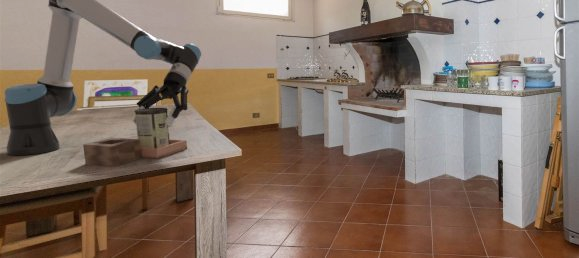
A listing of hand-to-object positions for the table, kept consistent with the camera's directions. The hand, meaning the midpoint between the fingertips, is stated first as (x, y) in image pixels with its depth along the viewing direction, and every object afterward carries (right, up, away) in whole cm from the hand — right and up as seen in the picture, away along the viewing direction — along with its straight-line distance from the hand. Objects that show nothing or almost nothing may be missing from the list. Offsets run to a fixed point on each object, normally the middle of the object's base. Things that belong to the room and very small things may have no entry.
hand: (151, 124), depth 116 cm
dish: (0, -10, +2) cm, 10 cm away
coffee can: (0, -9, +2) cm, 9 cm away
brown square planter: (-8, -12, -9) cm, 17 cm away
